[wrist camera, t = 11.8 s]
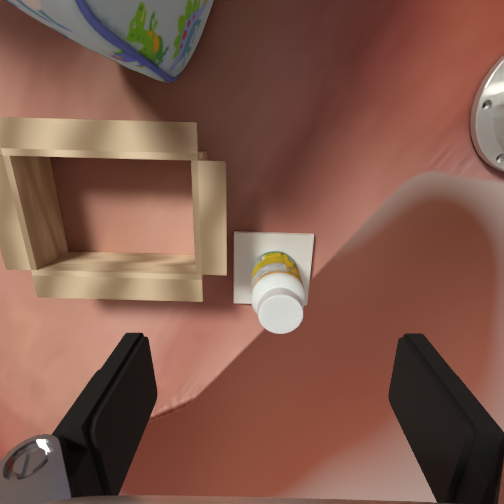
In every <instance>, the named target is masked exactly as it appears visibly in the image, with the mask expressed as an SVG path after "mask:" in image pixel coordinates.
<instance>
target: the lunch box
mask: <svg viewBox="0 0 504 504" xmlns="http://www.w3.org/2000/svg"><path fill="white" fill-rule="evenodd" d="M7 1H8V2H10V3H11V4H13V5H14V6H16V7H17V8H19V9H20V10H22V11H23V12H25V13H26V14H28V15H30V16H31V17H33V18H34V19H36V20H38V21H39V22H41V23H43V24H45V25H47V26H48V27H50V28H52V29H54V30H56V31H57V32H59V33H60V34H62V35H63V36H65V37H67V38H68V39H70V40H72V41H75V42H77V43H78V44H80V45H82V46H84V47H86V48H87V49H89V50H91V51H94V52H97V53H99V54H102V55H104V56H106V57H107V58H109V59H111V60H113V61H115V62H117V63H119V64H121V65H123V66H125V67H127V68H129V69H131V70H134V71H136V72H139V73H142V74H144V75H146V76H149V77H151V78H153V79H156V80H159V81H162V82H165V83H168V82H174V81H175V80H177V78H178V77H179V75H180V74H181V73H182V71H183V70H184V68H185V67H186V65H187V63H188V62H189V60H190V58H191V56H192V54H193V53H194V51H195V48H196V46H197V44H198V42H199V40H200V38H201V35H202V32H203V29H204V27H205V24H206V21H207V18H208V16H209V13H210V10H211V7H212V4H213V2H214V0H7Z"/></svg>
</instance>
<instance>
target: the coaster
mask: <svg viewBox="0 0 504 504" xmlns="http://www.w3.org/2000/svg"><path fill="white" fill-rule="evenodd" d="M313 242H314V234H313V233H278V232H241V231H234V303H240V304H252V303H251V271H252V266H253V263H254V261H255V260H256V259H257V257H258V256H260V255H261V254H262V253H264V252H267V251H270V250H280V251H283V252H285V253H287V254H288V255H290V256H291V257H292V258H293V259H294V261H295V262H296V264H297V267H298V270H299V273H300V276H301V280H302V283H303V286H304V289H305V293H306V303H305V305H307V301H308V291H309V282H310V272H311V262H312V252H313Z"/></svg>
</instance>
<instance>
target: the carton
mask: <svg viewBox="0 0 504 504" xmlns="http://www.w3.org/2000/svg"><path fill="white" fill-rule="evenodd" d="M0 147H1V151H2V155H0V249H1V252H2V256H3V260H4V263H5V267H6V269H15V270H31V272H32V276H33V280H34V284H35V288H36V292H37V296H38V297H47V298H83V299H119V300H155V301H191V302H203V280H202V279H203V276H204V275H227V171H226V161H207V151H198V136H197V122H163V121H125V120H88V119H51V118H13V117H0ZM50 157H81V158H118V159H155V160H191V174H192V197H193V220H194V244H195V255H185V254H149V253H113V252H76V251H68V246H67V241H66V236H65V231H64V226H63V221H62V216H61V210H60V205H59V200H58V195H57V190H56V185H55V180H54V175H53V170H52V165H51V160H50Z"/></svg>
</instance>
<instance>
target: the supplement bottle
mask: <svg viewBox="0 0 504 504" xmlns="http://www.w3.org/2000/svg"><path fill="white" fill-rule="evenodd" d="M251 303H252V306H253V309H254V311H255V312H256V313H257V315H258V318H259V321H260V323H261V325H262V326H263V327H264V328H265V329H267V330H269V331H270V332H273V333H278V334H283V333H288V332H291V331H293V330H294V329H296V328H297V327H298V326H299V325H300V323H301V321H302V319H303V308H304V306H305V303H306V293H305V289H304V286H303V283H302V280H301V276H300V273H299V270H298V267H297V264H296V262H295V261H294V259H293V258H292V257H291V256H290V255H288V254H287V253H285V252H283V251H280V250H270V251H267V252H264V253H262V254H261V255H260V256H258V257H257V259H256V260H255V261H254V263H253V266H252V271H251Z"/></svg>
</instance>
